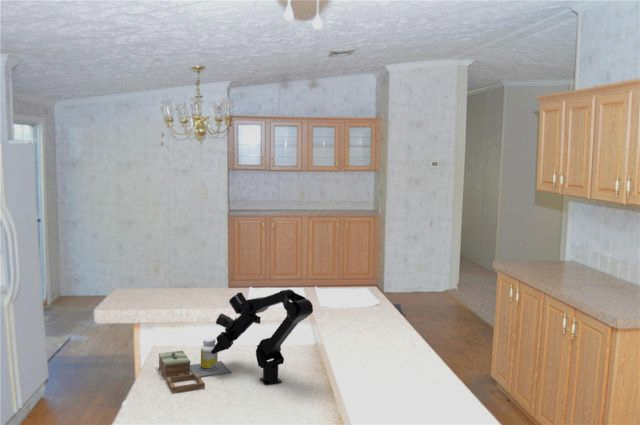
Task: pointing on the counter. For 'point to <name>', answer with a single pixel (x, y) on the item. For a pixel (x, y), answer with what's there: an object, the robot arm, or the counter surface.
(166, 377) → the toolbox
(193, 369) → the slate mat
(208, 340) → the pill bottle
